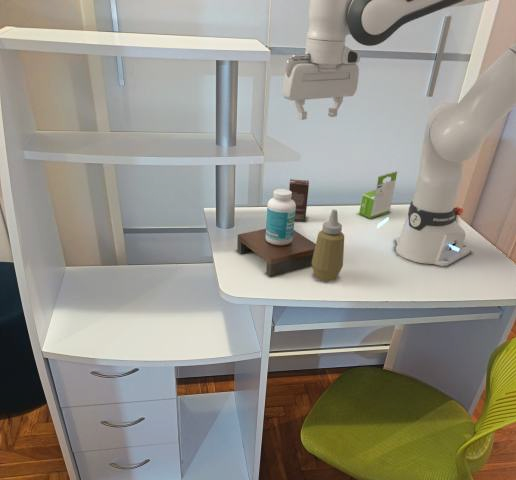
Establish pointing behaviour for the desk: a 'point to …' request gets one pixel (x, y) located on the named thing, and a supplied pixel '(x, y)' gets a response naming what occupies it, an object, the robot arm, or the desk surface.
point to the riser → (278, 251)
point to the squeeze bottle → (329, 250)
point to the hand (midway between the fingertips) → (317, 117)
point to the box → (299, 197)
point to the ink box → (378, 197)
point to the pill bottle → (280, 218)
